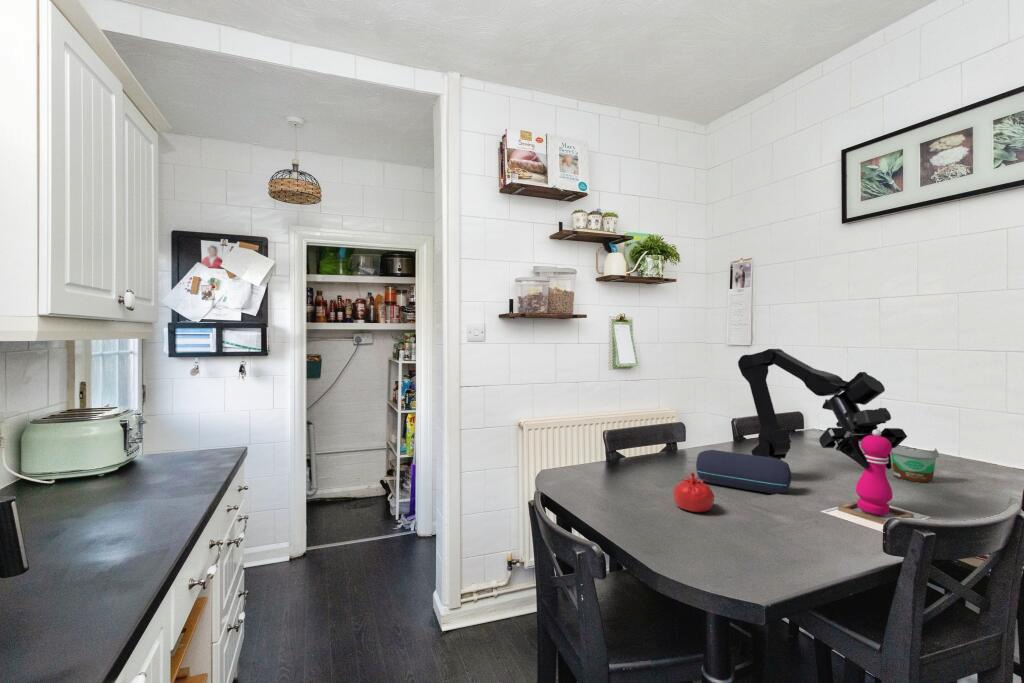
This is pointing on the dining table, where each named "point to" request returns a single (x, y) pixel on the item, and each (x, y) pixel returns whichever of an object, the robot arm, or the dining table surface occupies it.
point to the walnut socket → (848, 509)
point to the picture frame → (867, 522)
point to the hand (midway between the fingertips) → (878, 468)
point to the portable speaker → (744, 471)
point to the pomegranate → (693, 495)
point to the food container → (914, 464)
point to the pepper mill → (875, 475)
